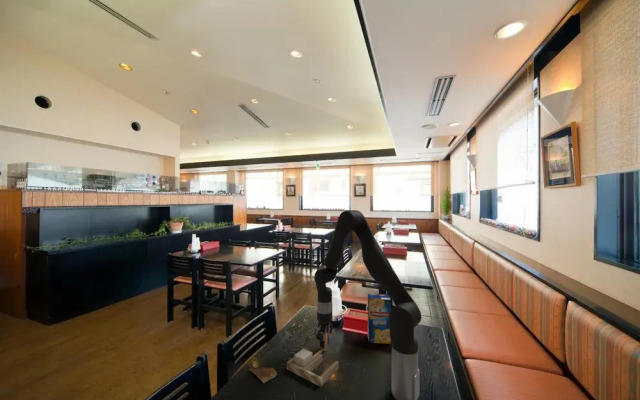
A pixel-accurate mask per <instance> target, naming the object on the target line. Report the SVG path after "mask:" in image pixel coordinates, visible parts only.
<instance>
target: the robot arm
mask: <svg viewBox="0 0 640 400" xmlns="http://www.w3.org/2000/svg"><path fill="white" fill-rule="evenodd" d="M333 232H334V233H333V237H332V240H331V243H330V247H329V249H328V250H327V253H326V255H325V257H324V259H323V265H324V266H325V267H323V268H319V269H317V270H316V271H315V273H314V282H315V287H316V288H315V289H316V291H317V301H316V302H317V303H316V320H317V321H318V325H317V328H315V329H314V334H315V337H316V340H318V341H319V348H320V349H321V348H324V347H325V335H326V331H327V332H328V336H327V346H328V345H329V344H330V338H329V337H330V336H331V335H332V333H333V332H332V331H333V327H334V323H335V321H334V320H333V289H332V288H331V287H329V286H327V285H326V284H328V283H331V282H333V281H334V280H335V279H336V277H337V273H338V266H339V264H340V262H341V261H342V259H343V256H344V252H345V246H344V245H345V241H346V238H347V237H348V235H349V234H350V232H353V233H354V234H355V235H356V237H357V239H358V241H359V243H360V248H361V257H362V261H363V263H364V266H365V268H366V269H367V272H368V273H369V275H370V276H371V278H372V279H373V280H374V281H375V282H376V283H378V285H379V286H381V287H382V288H383V289H384V290H385V291H386V292H387V294H388V295H389V297H390V298H391V301H392V302H393V303H394V306H392V307H391V311H390V314H389V330H390V339H391V395H392V397H394V398H395V400H418V399H419V397H420V389H421V388H420V380H421V379H420V377H421V376H420V368H419V342H418V341H417V339H416V338H415V328H416V327H417V326H418V325H419V324H420V323H421V321H422V312H421V310H420V308H419V306H418V304H417V303H416V301H415V300H414V298H412V296H411V294H410V293H409V291H407V289H406V287H404V285H403V283H402V281H401V279H400V278H399V276H398V275H397V273H396V271H395V270H394V267H392V264H391V263H390V261H389V259H388V258H387V256H386V254H385V252H384V250H383V249H382V248H381V246H380V245H379V242H378V240H377V239H376V237H375V236H374V234H373V232H372V229H371V227H370V225H369V223H368V221H367V219H366V217H365V215H364V214H363V213H362V211H360V210H358V209H357V210H356V209H353V210H344V211H341V213H340V214H339V216H338V218H337V221H336V225H335V230H334V231H333ZM322 332H323V333H322ZM321 335H323V337H322V336H321Z"/></svg>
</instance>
